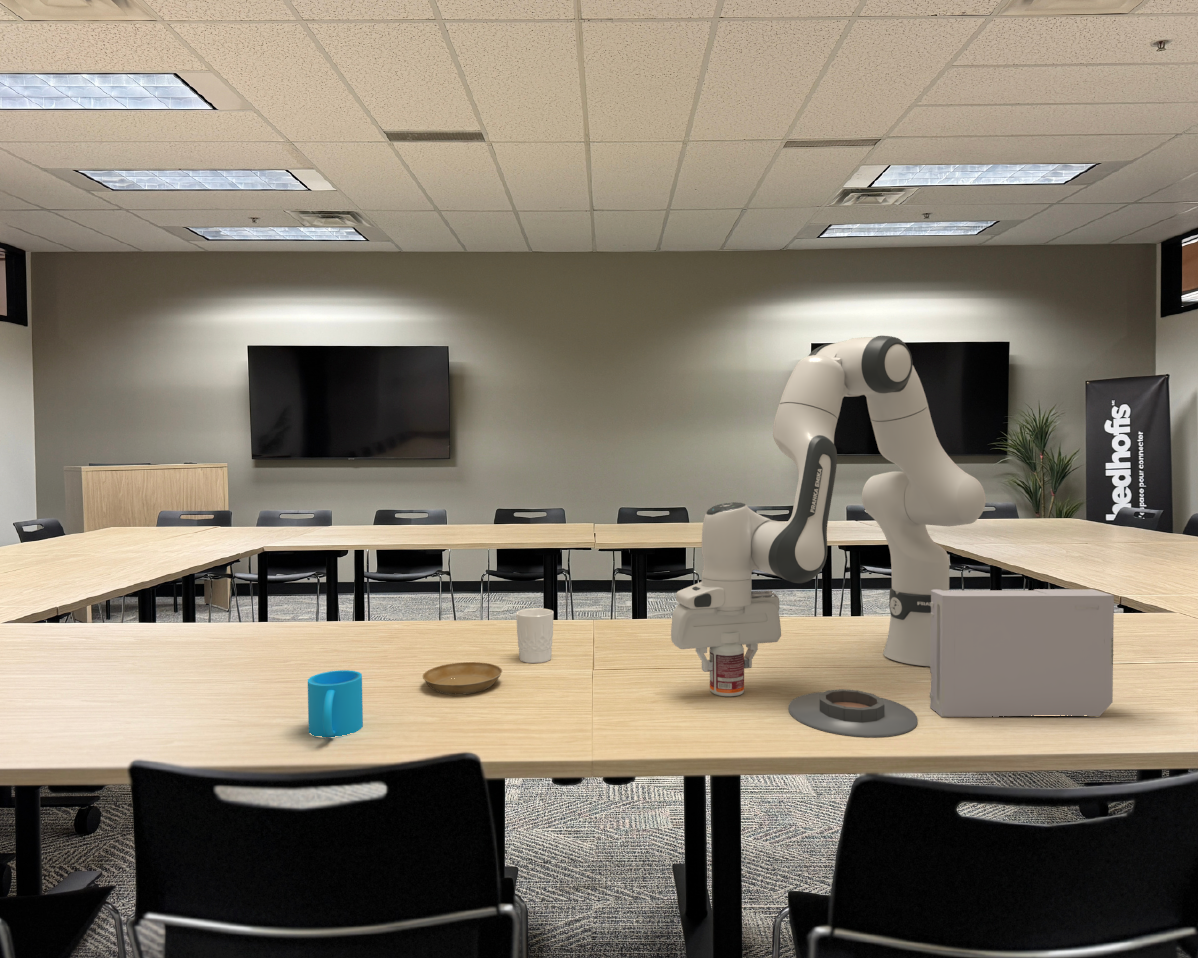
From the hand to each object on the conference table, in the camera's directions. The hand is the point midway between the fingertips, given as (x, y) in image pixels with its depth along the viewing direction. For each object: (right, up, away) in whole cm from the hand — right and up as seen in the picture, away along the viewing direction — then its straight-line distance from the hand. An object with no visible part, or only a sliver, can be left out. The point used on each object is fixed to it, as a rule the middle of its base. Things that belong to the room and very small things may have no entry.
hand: (726, 669), depth 133 cm
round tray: (+18, -4, -12) cm, 22 cm away
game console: (+46, -4, -11) cm, 48 cm away
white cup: (-37, -4, +23) cm, 43 cm away
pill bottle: (0, -4, 0) cm, 4 cm away
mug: (-65, -6, -18) cm, 67 cm away
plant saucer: (-49, -5, +6) cm, 49 cm away
